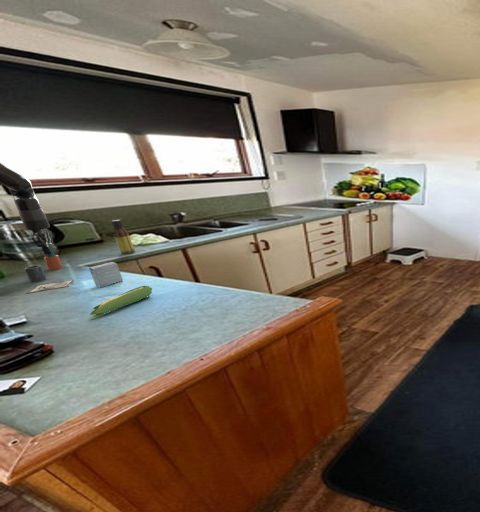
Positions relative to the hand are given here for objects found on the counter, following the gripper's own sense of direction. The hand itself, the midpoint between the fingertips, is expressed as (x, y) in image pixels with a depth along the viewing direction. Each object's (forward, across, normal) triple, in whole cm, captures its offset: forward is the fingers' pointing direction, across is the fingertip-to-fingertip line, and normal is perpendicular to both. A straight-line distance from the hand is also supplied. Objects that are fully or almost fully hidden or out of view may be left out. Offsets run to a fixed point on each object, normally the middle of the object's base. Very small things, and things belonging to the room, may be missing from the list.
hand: (49, 253), depth 134 cm
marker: (+8, 0, 0) cm, 8 cm away
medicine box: (+9, +40, +28) cm, 50 cm away
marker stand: (+9, +18, 0) cm, 20 cm away
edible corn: (+9, +71, +38) cm, 81 cm away
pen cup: (+9, 0, 0) cm, 9 cm away
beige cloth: (+9, +31, +8) cm, 33 cm away
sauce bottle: (+9, -15, +25) cm, 30 cm away
